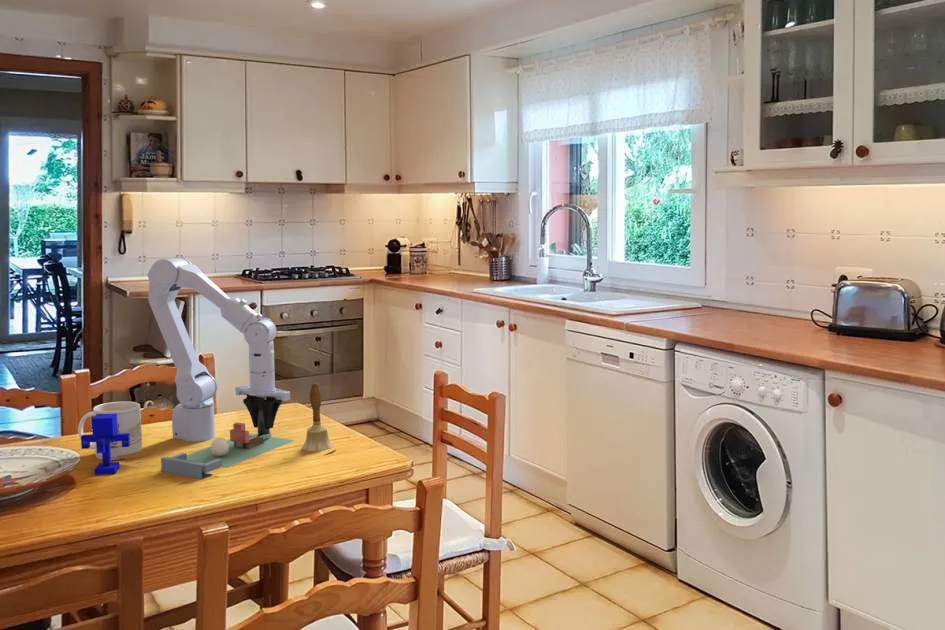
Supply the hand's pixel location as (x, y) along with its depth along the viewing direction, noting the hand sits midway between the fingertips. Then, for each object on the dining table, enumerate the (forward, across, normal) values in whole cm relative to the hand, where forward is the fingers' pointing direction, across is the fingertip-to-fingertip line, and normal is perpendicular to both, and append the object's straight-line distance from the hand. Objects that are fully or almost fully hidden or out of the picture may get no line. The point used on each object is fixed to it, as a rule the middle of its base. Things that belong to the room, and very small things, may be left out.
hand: (263, 427), depth 198 cm
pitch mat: (+4, 0, -9) cm, 10 cm away
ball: (+1, 0, -15) cm, 15 cm away
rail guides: (+3, 0, -5) cm, 6 cm away
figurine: (+4, -16, -31) cm, 35 cm away
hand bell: (+4, +15, +1) cm, 16 cm away
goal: (+4, 0, -23) cm, 24 cm away
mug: (+4, -25, -21) cm, 33 cm away
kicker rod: (+3, 0, -4) cm, 5 cm away
